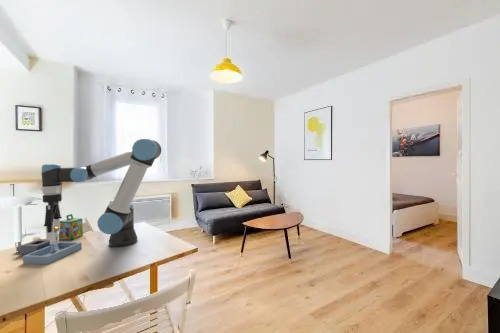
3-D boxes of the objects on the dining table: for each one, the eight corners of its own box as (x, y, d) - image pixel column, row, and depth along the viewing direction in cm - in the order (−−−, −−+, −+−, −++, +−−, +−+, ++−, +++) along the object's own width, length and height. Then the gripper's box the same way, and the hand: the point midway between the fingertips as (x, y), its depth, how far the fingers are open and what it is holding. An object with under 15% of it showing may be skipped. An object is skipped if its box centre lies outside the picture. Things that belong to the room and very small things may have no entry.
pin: (50, 253, 124) (49, 227, 124) (61, 252, 127) (60, 226, 126) (47, 256, 120) (46, 229, 120) (59, 255, 123) (58, 228, 122)
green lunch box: (72, 240, 147) (71, 216, 147) (58, 240, 148) (57, 216, 147) (83, 235, 156) (82, 213, 156) (70, 235, 157) (69, 213, 157)
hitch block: (29, 247, 135) (29, 238, 135) (55, 248, 134) (54, 239, 133) (10, 254, 125) (9, 245, 125) (37, 255, 124) (36, 246, 123)
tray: (60, 247, 134) (60, 241, 134) (81, 248, 133) (81, 242, 133) (23, 263, 114) (22, 256, 114) (47, 264, 113) (47, 257, 113)
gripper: (49, 191, 132) (50, 229, 132) (34, 198, 110) (36, 243, 110) (66, 190, 135) (67, 227, 136) (55, 196, 113) (57, 240, 114)
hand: (53, 234), depth 123 cm, fingers open, 13 cm apart
